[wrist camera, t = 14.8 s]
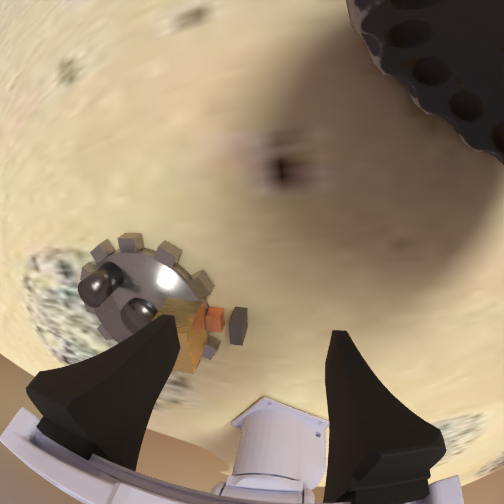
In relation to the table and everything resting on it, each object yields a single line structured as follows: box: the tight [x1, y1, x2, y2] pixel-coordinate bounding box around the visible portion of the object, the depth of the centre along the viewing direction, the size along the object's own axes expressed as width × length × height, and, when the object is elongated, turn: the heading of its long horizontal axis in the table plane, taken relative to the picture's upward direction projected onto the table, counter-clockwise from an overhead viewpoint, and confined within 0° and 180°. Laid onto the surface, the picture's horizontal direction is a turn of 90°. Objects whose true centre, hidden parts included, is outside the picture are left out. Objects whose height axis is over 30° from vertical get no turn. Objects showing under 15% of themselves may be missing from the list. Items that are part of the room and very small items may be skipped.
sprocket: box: [78, 233, 225, 369], centre depth 22 cm, size 14×14×5 cm
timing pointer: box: [229, 307, 247, 346], centre depth 22 cm, size 1×2×2 cm, turn 0°
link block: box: [151, 298, 208, 374], centre depth 21 cm, size 4×3×4 cm
